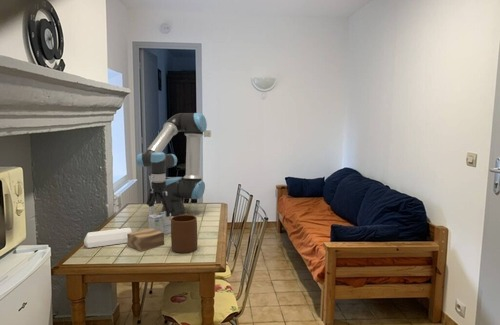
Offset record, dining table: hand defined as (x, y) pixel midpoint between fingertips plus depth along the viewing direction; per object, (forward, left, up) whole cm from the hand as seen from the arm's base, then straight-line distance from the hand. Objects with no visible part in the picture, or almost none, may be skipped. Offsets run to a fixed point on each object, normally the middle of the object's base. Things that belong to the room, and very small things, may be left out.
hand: (159, 220), depth 206 cm
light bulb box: (0, 0, -8) cm, 8 cm away
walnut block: (+10, -15, -8) cm, 20 cm away
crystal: (-6, -26, -8) cm, 28 cm away
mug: (+26, -3, -8) cm, 27 cm away
